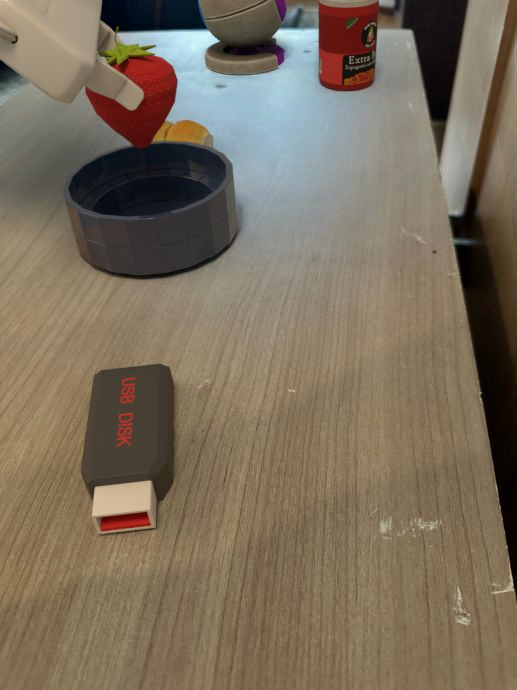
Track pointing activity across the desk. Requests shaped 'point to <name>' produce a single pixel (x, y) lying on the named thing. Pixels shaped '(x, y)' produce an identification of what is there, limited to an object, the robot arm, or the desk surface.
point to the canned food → (347, 43)
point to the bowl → (152, 207)
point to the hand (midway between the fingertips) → (138, 85)
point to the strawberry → (157, 93)
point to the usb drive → (129, 446)
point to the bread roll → (184, 133)
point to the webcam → (243, 35)
